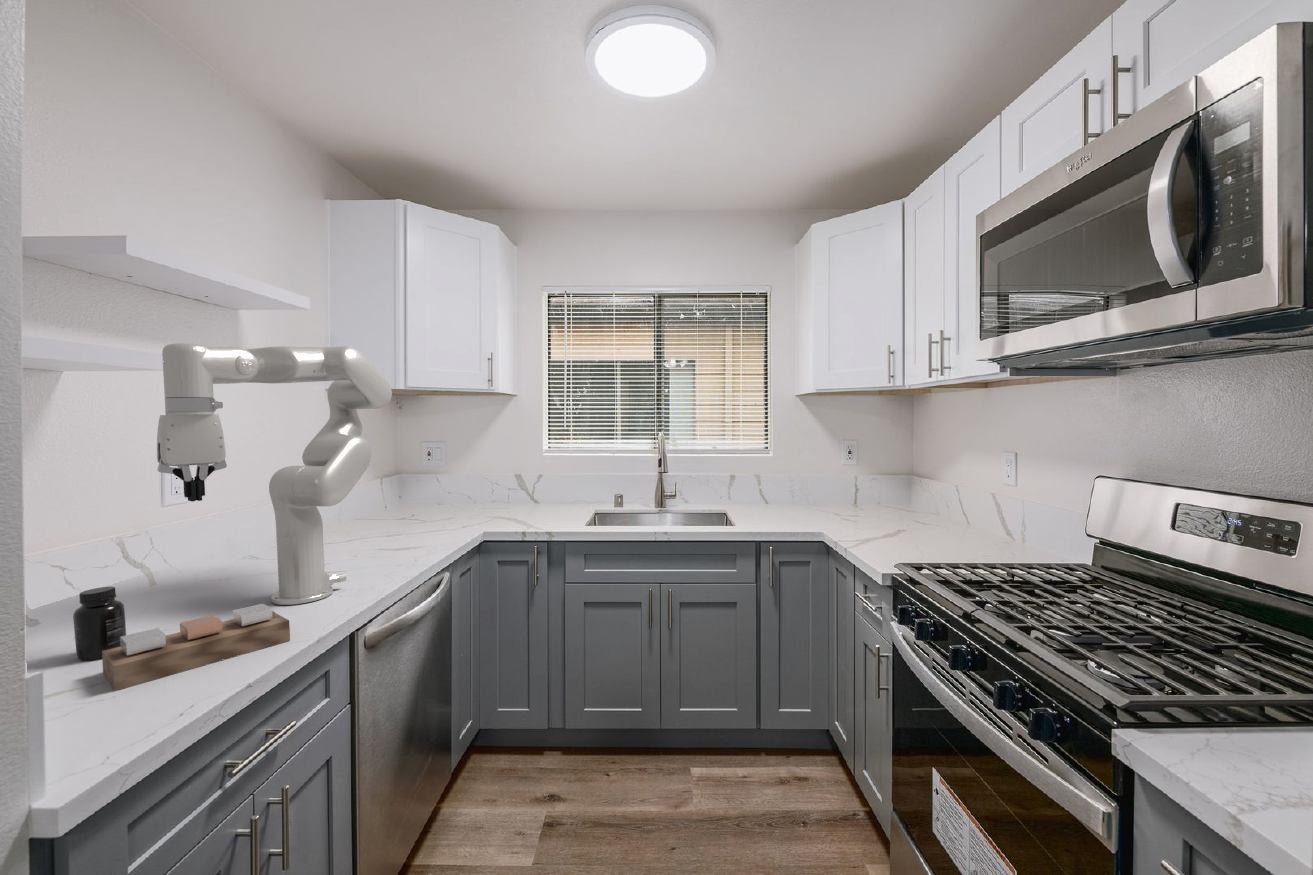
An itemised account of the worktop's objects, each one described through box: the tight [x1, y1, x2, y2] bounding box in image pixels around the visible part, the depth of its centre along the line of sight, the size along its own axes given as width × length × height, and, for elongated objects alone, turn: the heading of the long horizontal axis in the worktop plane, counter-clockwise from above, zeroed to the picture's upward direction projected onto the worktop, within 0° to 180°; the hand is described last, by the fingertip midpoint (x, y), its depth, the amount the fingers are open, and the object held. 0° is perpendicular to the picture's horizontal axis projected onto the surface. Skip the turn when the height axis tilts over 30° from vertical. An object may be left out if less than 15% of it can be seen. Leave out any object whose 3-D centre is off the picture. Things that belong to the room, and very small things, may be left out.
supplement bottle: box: [72, 586, 127, 662], centre depth 107 cm, size 7×7×12 cm
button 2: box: [232, 603, 273, 626], centre depth 111 cm, size 5×5×6 cm
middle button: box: [179, 614, 223, 640], centre depth 105 cm, size 5×5×6 cm
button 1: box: [120, 627, 166, 656], centre depth 99 cm, size 5×5×6 cm
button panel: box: [102, 610, 291, 692], centre depth 105 cm, size 25×10×4 cm, turn 142°
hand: (194, 500), depth 114 cm, fingers closed
